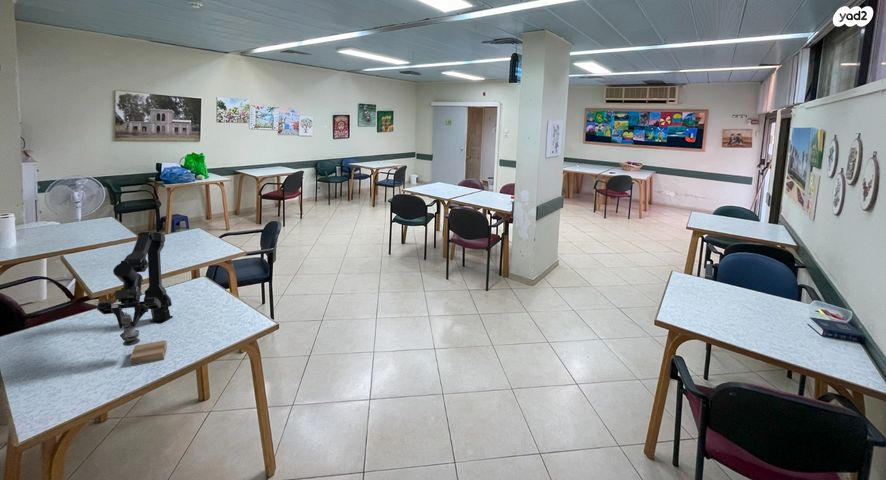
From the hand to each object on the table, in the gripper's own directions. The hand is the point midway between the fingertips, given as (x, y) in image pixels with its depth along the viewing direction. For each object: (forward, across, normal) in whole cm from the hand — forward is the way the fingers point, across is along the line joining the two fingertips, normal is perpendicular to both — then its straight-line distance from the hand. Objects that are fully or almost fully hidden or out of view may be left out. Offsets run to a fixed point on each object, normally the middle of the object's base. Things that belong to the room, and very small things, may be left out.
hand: (127, 327), depth 160 cm
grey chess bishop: (+4, 0, +6) cm, 7 cm away
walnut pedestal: (+8, +5, +10) cm, 14 cm away
